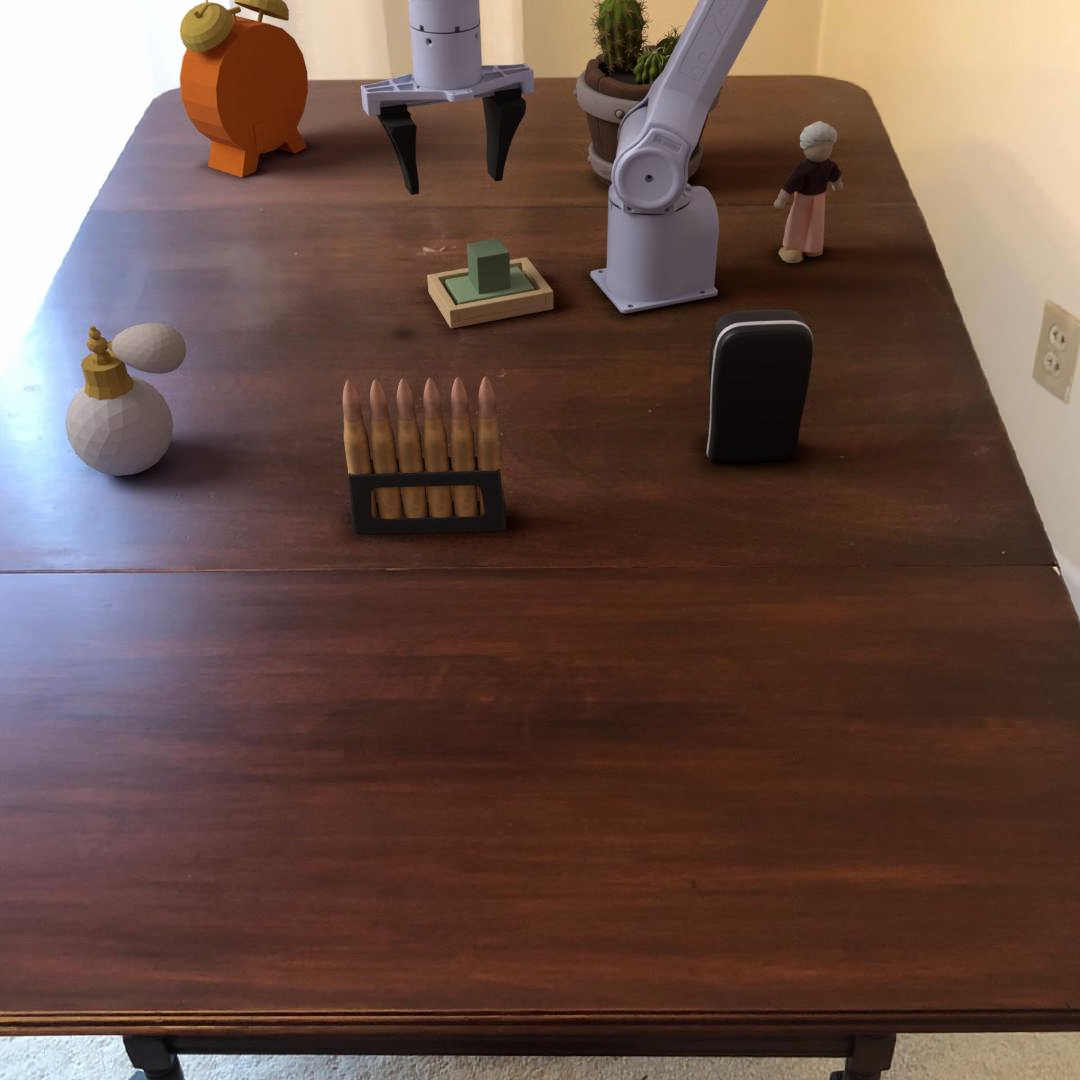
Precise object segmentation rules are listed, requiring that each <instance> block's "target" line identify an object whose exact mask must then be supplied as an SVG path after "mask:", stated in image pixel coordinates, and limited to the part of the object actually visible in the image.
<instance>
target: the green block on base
mask: <svg viewBox="0 0 1080 1080" xmlns="http://www.w3.org/2000/svg"><path fill="white" fill-rule="evenodd" d="M466 253H467V268H468V274H469V276H463V277H458V278H452V279H447V280H445V284H446V290H447V292H448V293H449V295H450V296H451V298H452V299H453V301H454V303H455V304H456V305H460V304H466V303H471V302H476V301H482V300H487V299H492V298H498V297H503V296H508V295H514V294H519V293H524V292H530V291H534V287H533V286H532V284H531V283H530V282H529V281H528V279H527V278H526V277H525V275H524V274H523V273H522V271H521V270H520V269H519V267H513V268H510V260H511V259H510V251H509V249H508V248H507V247H506V246H505V244H504V243H503V242H502V241H501V240H500V238H490V239H485V240H480V241H475V242H468V243H466Z"/></svg>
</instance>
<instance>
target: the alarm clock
mask: <svg viewBox="0 0 1080 1080" xmlns="http://www.w3.org/2000/svg"><path fill="white" fill-rule="evenodd" d="M234 4H236V5H237V6H234V7H231V8H229V9H227V8H226V7H225V6H224V5H222V4H220V3H217V2H213V1H212V2H211V1H209V0H205V2H202V3H199V4H197V5H195V6H193V7H192V8H191V9H189V10H188V11H187V12H186V13H185V15H184V16H183V18H182V19H181V22H180V26H179V27H180V28H179V36H180V39H181V42H182V44H183V46H184V47H185V48H186V50H185V52H184V54H183V56H182V59H181V61H182V62H181V66H180V72H179V73H180V74H179V87H180V98H181V101H182V104H183V107H184V110H185V113H186V116H187V117H188V119H189V120H190V121H191V123H192V124H193V126H194V127H195V128H196V130H197V132H199V133H200V134H202V135H203V136H205V137H206V138H207V139H209V140H210V147H209V157H208V162H207V167H208V168H211V169H214V170H217V171H220V172H223V173H227V174H230V175H232V176H235V177H239V178H241V179H242V178H244V177H246V176H248V175H251V174H253V173H255V172H257V167H258V162H259V157H260V154H264V153H268V152H269V153H270V152H273V151H276V149H278V150H281V151H285V152H287V153H291V154H296V153H299V152H300V151H303V150H304V149H307V148H308V146H307V145H306V143H305V140H304V139H303V136H302V135H301V133H300V131H299V130H298V126H299V124H300V122H301V120H302V117H303V115H304V112H305V110H306V109H305V108H306V104H307V99H308V94H309V83H308V82H309V81H308V76H309V75H308V69H307V64H306V61H305V57H304V53H303V52H302V50H301V47H300V46H299V45H298V42H297V41H296V39H295V38H294V37H293V36H292V35H291V34H289V33H288V32H287V31H286V30H285V29H284V28H282V27H280V26H277V25H275V24H272V23H267V22H264V21H263V18H264V16H266V17H270V18H273V19H277V20H281V21H289V19H290V10H289V7H288V5H287V3H286V2H285V1H284V0H234ZM241 7H242V8H244V9H247V10H250V11H252V12H254V13H258V15H257V20H255V19H250V18H247V17H244V16H239V15H237V14H239V13H241V12H242V8H241Z"/></svg>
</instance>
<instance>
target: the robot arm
mask: <svg viewBox="0 0 1080 1080" xmlns="http://www.w3.org/2000/svg"><path fill="white" fill-rule="evenodd" d="M768 1H769V0H698V2H697V3H696V5H695V7H694V9H693V11H692V13H691V15H690V17H689V19H688V21H687V23H686V25H685V26H684V29H683V31H682V32H683V33H682V32H681V34H682V35H681V37H680V39H679V41H678V42H677V44H676V46H675V48H674V50H673V52H672V54H671V56H670V58H669V60H668V62H667V64H666V66H665V68H664V70H663V72H662V73H661V74H660V76H659V77H658V78H657V79H656V80H655V81H654V83H653V84H652V86H651V88H650V90H649V92H648V94H647V95H646V97H645V98H644V99H643V101H641V102H640V103H639V104H638V105H637V106H635V107H634V108H632V109H631V110H630V111H629V112H628V113H627V114H626V115H625V116H624V118H623V119H622V121H621V123H620V126H619V129H618V136H617V138H618V147H617V153H616V159H615V161H614V164H613V167H612V174H611V179H612V184H611V185H610V187H608V192H607V193H608V198H607V233H606V234H607V235H606V236H607V238H606V239H607V240H606V241H607V242H606V267H604V268H599V269H594V270H591V271H590V274H589V277H590V278H591V279H592V280H593V282H595V284H596V285H597V286H598V287H599V288H600V290H601V291H602V292H603V293H604V294H605V295H606V297H607V298H608V299H609V300H610V301H611V303H612V304H613V305H614V306H615V308H617V310H618V311H619V312H620V313H622V314H631V313H632V314H633V313H636V312H642V311H646V310H651V309H656V308H662V307H667V306H672V305H677V304H683V303H689V302H692V301H697V300H702V299H703V300H704V299H708V298H712V297H716V296H718V289H717V287H715V283H716V282H715V281H716V271H717V256H718V246H719V234H720V220H719V219H720V218H719V213H718V208H717V204H716V202H715V199H714V197H713V195H712V194H711V192H710V191H709V190H708V189H707V188H706V187H704V186H703V185H691V184H690V183H688V181H687V180H688V163H689V159H690V157H691V154H692V152H693V150H694V148H695V147H696V145H697V142H698V140H699V137H700V134H701V131H702V128H703V125H704V122H705V119H706V116H707V113H708V110H709V108H710V106H711V104H712V103H713V101H714V99H715V97H716V95H717V93H718V91H719V90H720V88H721V86H722V87H723V84H724V83H725V81H726V79H727V77H728V75H729V73H730V71H731V69H732V68H733V65H734V64H735V62H736V60H737V58H738V56H739V54H740V53H741V51H742V49H743V48H744V45H745V44H746V42H747V40H748V38H749V36H750V34H751V32H752V30H753V29H754V27H755V25H756V24H757V21H758V19H760V17H761V14H762V12H763V10H764V9H765V7H766V5H767V4H768ZM407 4H408V5H407V6H408V19H409V31H410V32H409V33H410V44H411V45H410V46H411V57H412V71H413V72H410V73H407V74H403V75H399V76H396V77H393V78H389V79H386V80H382V81H378V82H374V83H369V84H362V85H360V93H361V102H362V109H363V110H364V112H365V113H366V115H367V116H368V117H375V116H376V117H377V119H378V121H379V123H380V125H381V127H382V128H383V130H384V132H385V133H386V136H387V138H388V140H389V142H390V144H391V146H392V149H393V151H394V153H395V156H396V158H397V161H398V164H399V167H400V171H401V174H402V177H403V182H404V187H405V189H406V190H407V192H408V193H409V195H411V196H414V195H419V194H420V179H419V172H418V166H417V129H418V128H417V127H418V125H416V123H415V122H414V121H413V120H412V113H411V112H410V111H409V110H408V109H409V108H417V107H423V106H431V105H437V104H445V103H464V102H470V101H473V100H474V99H478V98H479V99H480V98H481V100H482V105H483V106H482V107H483V112H484V113H483V114H484V121H485V123H484V124H485V132H486V167H487V168H486V169H487V174H488V175H489V176H490V177H491V178H492V180H493V181H494V182H501V181H503V179H504V178H503V177H504V172H505V166H506V162H507V158H508V155H509V151H510V149H511V148H510V147H511V145H512V142H513V139H514V137H515V134H516V132H517V130H518V127H519V126H520V125H521V122H522V120H523V118H524V117H525V115H526V111H527V101H526V99H524V98H523V97H522V95H528V94H534V93H535V75H534V74H535V73H534V72H535V71H534V69H532V67H530V65H528V64H527V62H524V63H516V64H514V63H513V64H483V55H482V34H481V33H482V31H481V29H482V28H481V8H480V6H481V5H480V0H407ZM708 114H709V113H708Z"/></svg>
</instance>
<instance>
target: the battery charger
mask: <svg viewBox="0 0 1080 1080" xmlns="http://www.w3.org/2000/svg"><path fill="white" fill-rule="evenodd" d="M813 355H814V336H813V333H812V330H811V329H810V327H809V326H808V325H807V323H806V321H805V319H804V317H803V316H802V315H801V314H800V313H799V312H798V311H795V310H792V309H751V310H737V311H730V312H727V313H725V314H723V315H722V316H720V317H719V319H718V320H717V321H716V323H715V325H714V326H713V330H712V336H711V342H710V351H709V362H708V377H709V381H710V387H709V389H710V390H709V418H708V420H709V421H708V429H707V438H706V446H705V447H706V456H707V458H708V459H709V461H710V462H712V463H741V462H742V463H744V462H745V463H747V462H748V463H749V462H750V463H751V462H765V461H780V460H790V459H795V458H796V457H797V454H798V446H799V445H798V444H799V438H800V429H801V424H802V419H803V414H804V410H805V404H806V400H807V394H808V391H809V390H808V389H809V384H810V379H811V372H812V365H813Z"/></svg>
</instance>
